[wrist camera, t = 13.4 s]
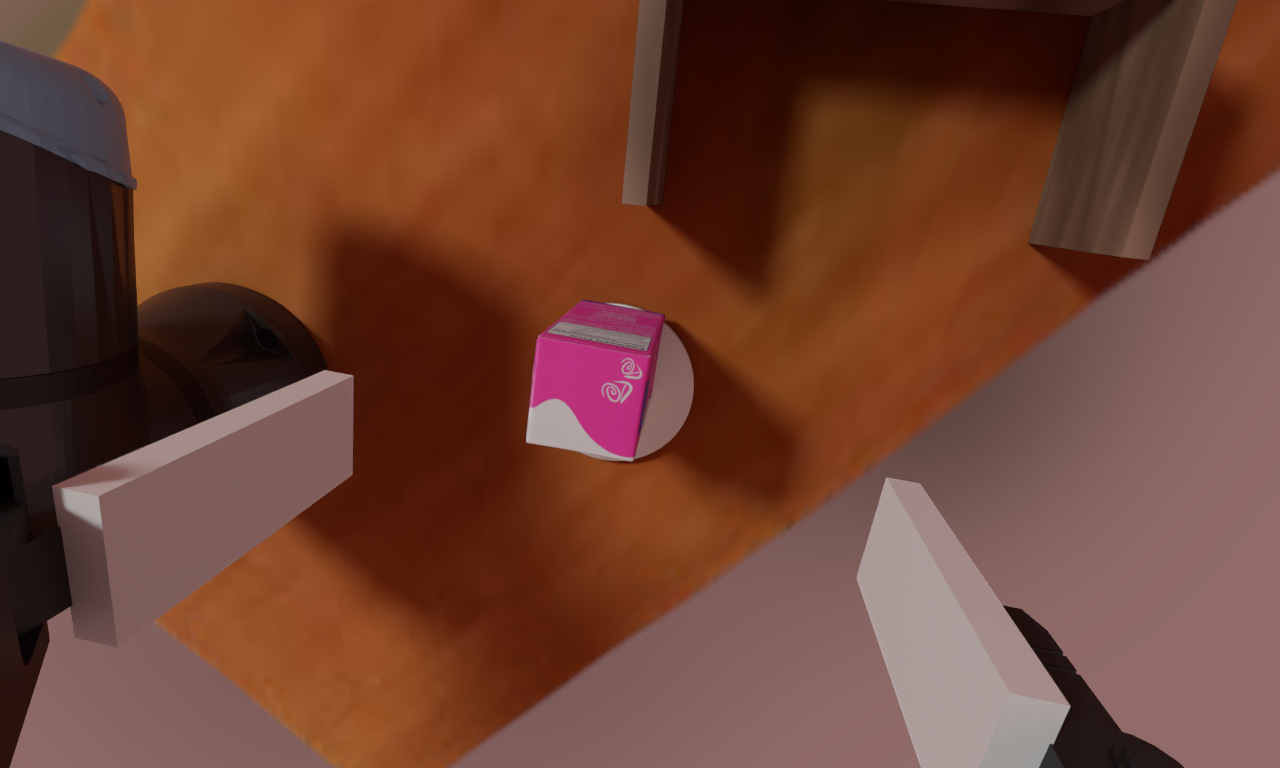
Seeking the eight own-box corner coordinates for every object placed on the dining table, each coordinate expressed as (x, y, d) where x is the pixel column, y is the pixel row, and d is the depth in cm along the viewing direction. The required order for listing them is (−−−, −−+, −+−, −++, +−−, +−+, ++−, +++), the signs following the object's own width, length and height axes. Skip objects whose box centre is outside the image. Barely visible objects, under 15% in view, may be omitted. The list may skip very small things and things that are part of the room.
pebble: (531, 444, 45) (528, 449, 44) (539, 292, 41) (536, 294, 41) (683, 466, 44) (683, 471, 43) (704, 312, 41) (703, 315, 40)
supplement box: (655, 397, 42) (633, 467, 31) (569, 380, 42) (517, 444, 31) (670, 313, 40) (652, 356, 29) (580, 296, 40) (529, 333, 30)
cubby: (643, 201, 39) (621, 203, 30) (666, -41, 35) (650, -118, 27) (1049, 245, 37) (1148, 259, 28) (1122, -8, 33) (1264, -79, 24)
